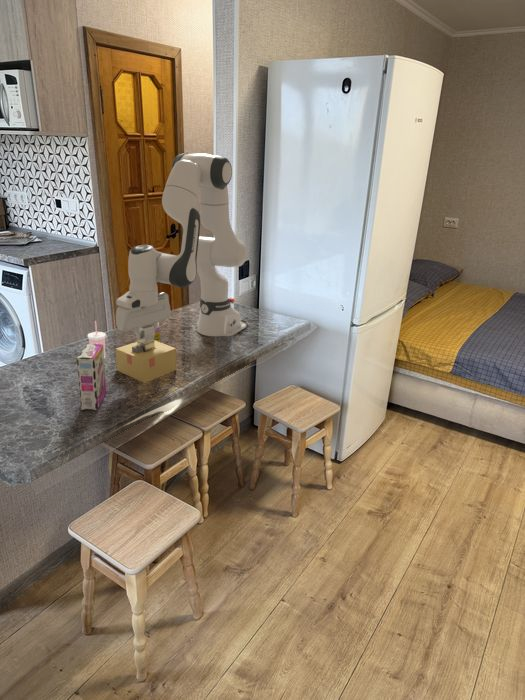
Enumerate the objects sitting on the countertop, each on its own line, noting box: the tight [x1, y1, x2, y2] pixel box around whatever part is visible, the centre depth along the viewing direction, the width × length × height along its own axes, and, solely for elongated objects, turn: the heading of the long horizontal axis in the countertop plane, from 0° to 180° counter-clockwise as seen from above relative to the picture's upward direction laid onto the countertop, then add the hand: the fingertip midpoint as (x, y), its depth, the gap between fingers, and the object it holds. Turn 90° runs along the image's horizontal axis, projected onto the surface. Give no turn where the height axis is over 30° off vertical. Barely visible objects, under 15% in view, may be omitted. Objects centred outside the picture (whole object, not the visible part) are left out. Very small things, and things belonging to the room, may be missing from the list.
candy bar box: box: [76, 343, 107, 411], centre depth 140 cm, size 11×5×16 cm, turn 4°
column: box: [136, 324, 155, 352], centre depth 163 cm, size 4×4×16 cm
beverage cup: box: [87, 320, 107, 360], centre depth 170 cm, size 6×6×14 cm
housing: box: [115, 340, 177, 384], centre depth 164 cm, size 14×14×10 cm
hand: (145, 337), depth 161 cm, fingers open, 4 cm apart
